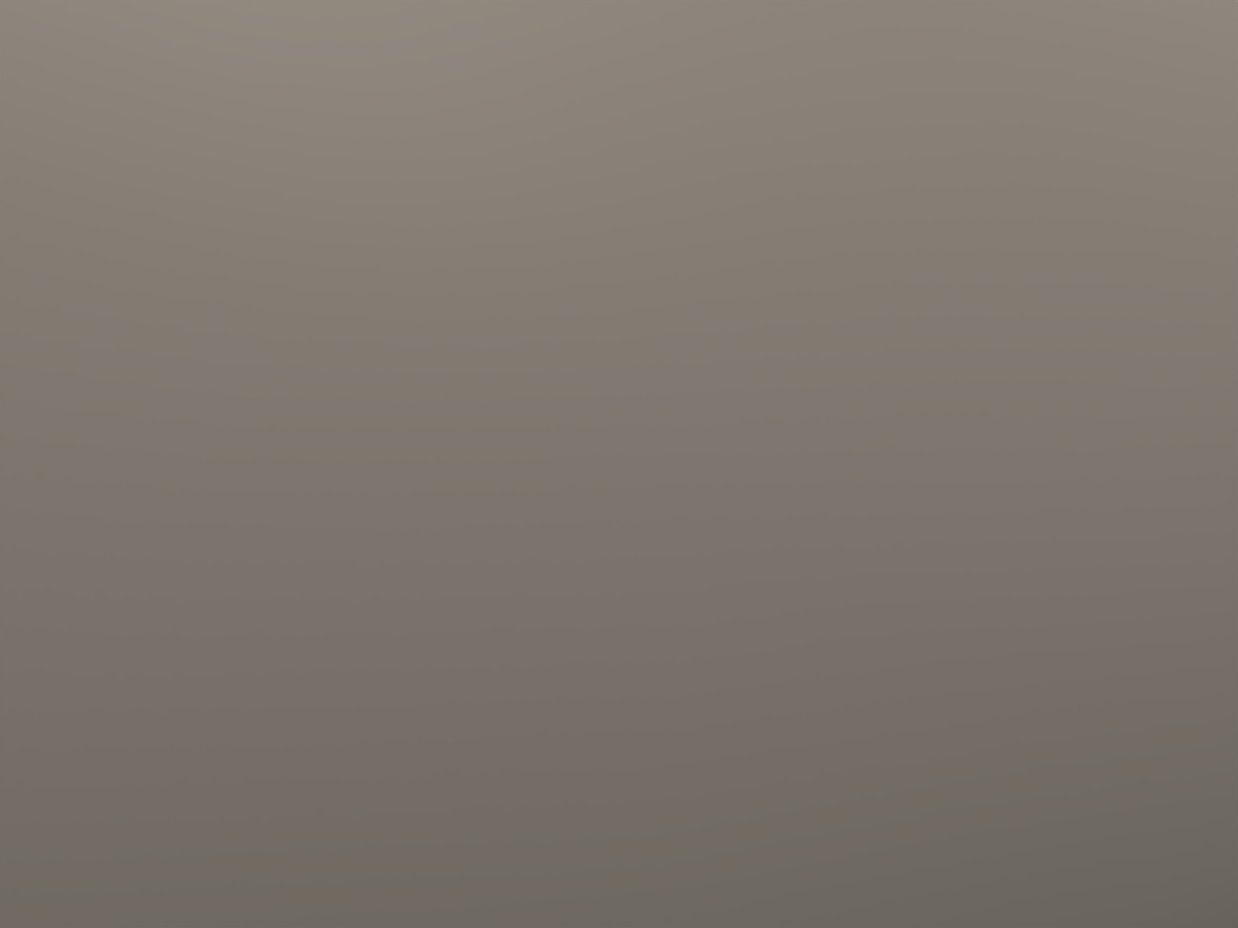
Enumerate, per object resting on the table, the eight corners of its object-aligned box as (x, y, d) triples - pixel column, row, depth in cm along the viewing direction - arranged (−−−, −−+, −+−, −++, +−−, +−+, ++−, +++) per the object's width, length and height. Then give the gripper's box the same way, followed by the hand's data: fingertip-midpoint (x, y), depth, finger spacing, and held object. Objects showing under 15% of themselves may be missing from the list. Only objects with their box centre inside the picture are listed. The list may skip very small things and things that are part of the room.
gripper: (933, 456, 41) (471, 555, 44) (815, 134, 56) (481, 224, 60) (933, 336, 35) (402, 459, 38) (802, 13, 51) (433, 121, 54)
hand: (449, 316), depth 49 cm, fingers open, 13 cm apart
